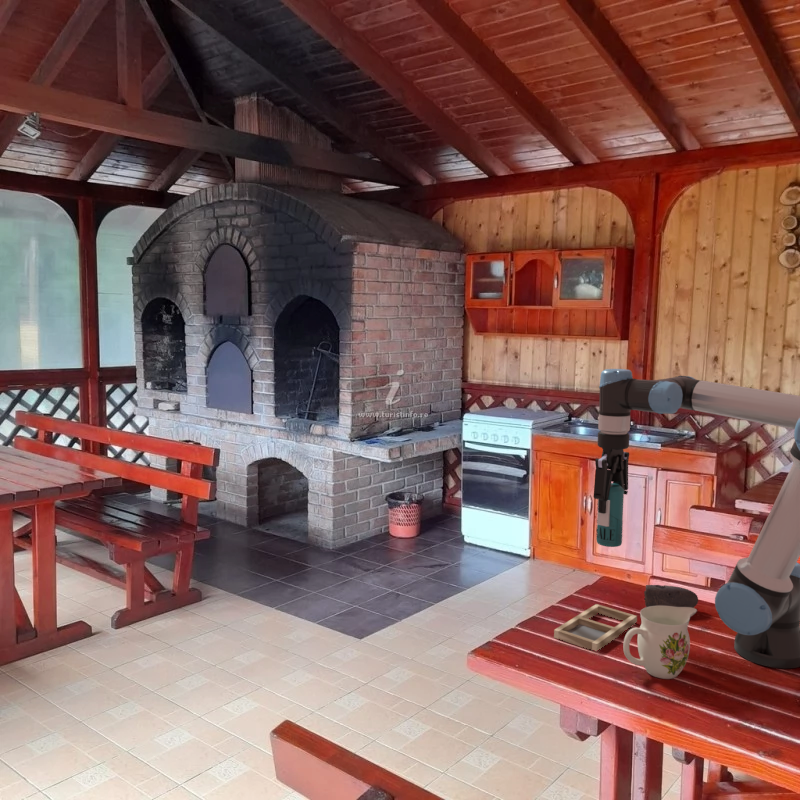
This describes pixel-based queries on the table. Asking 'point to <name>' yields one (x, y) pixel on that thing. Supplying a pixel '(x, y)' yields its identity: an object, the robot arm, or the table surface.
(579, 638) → the bottle rack
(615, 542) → the beverage bottle
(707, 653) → the table surface
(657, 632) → the pitcher
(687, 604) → the perforated stone tool
